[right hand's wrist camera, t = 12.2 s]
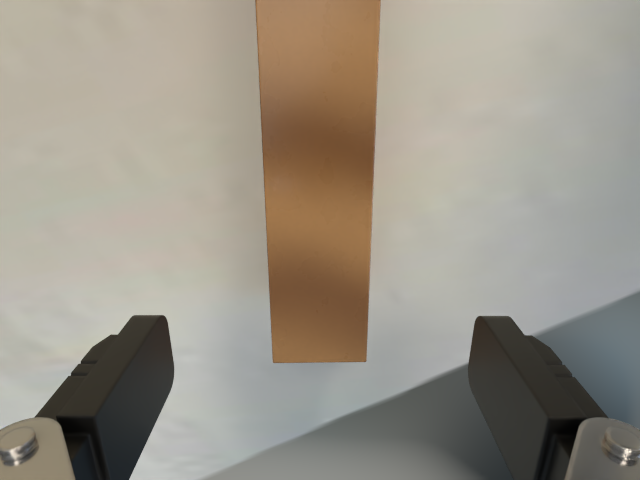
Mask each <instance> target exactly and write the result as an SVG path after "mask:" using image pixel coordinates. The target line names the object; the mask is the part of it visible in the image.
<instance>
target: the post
mask: <svg viewBox="0 0 640 480" xmlns="http://www.w3.org/2000/svg"><path fill="white" fill-rule="evenodd" d="M255 1H256V22H257V42H258V63H259V84H260V105H261V126H262V146H263V167H264V188H265V209H266V230H267V251H268V271H269V292H270V313H271V334H272V355H273V363H307V362H366V357H367V331H368V306H369V281H370V255H371V230H372V205H373V179H374V154H375V128H376V103H377V78H378V52H379V27H380V1H381V0H255Z"/></svg>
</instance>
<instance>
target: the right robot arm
mask: <svg viewBox="0 0 640 480" xmlns="http://www.w3.org/2000/svg"><path fill="white" fill-rule="evenodd" d="M468 378H469V384H470V388H471V391H472V393H473V395H474V397H475V399H476V402H477V404H478V406H479V408H480V410H481V412H482V414H483V416H484V418H485V421H486V423H487V425H488V427H489V429H490V431H491V433H492V435H493V437H494V440H495V442H496V444H497V446H498V448H499V450H500V452H501V454H502V456H503V458H504V461H505V463H506V465H507V467H508V469H509V471H510V473H511V475H512V478H513V480H640V430H639V429H637V428H636V427H634V426H632V425H629V424H627V423H624V422H621V421H618V420H614V419H610V418H608V417H607V416H606V414H605V413H604V412H603V411H602V410H601V408H600V407H599V406H598V405H597V404H596V402H595V401H594V400H593V399H592V398H591V396H590V395H589V394H588V393H587V392H586V390H585V389H584V388H583V387H582V386H581V384H580V383H579V382H578V381H577V379H576V378H575V377H572V373H571V372H570V371H569V370H568V369H567V368H566V366H565V365H562V362H561V360H560V359H559V358H558V357H557V355H556V354H555V353H554V352H553V351H552V349H551V348H550V347H548V346H547V345H545V344H544V343H542V342H541V341H539V340H538V339H536V338H535V337H533V336H525V335H524V334H523V333H522V331H521V330H520V329H519V327H518V326H517V325H516V324H515V322H514V321H513V320H512V319H511V317H509V316H478V317H477V319H476V321H475V325H474V331H473V338H472V345H471V351H470V358H469V365H468ZM173 379H174V362H173V356H172V349H171V342H170V335H169V328H168V322H167V319H166V317H165V316H163V315H134V316H132V317H131V318H130V320H129V321H128V322H127V324H126V325H125V326H124V328H123V329H122V330H121V331H120V333H119V334H118V335H110V336H108V337H107V338H105V339H104V340H102V341H101V342H99V343H98V344H96V345H95V346H93V347H92V348H91V350H90V351H89V352H88V353H87V354H86V356H85V357H84V358H83V359H82V360H81V364H78V365H77V367H76V368H75V369H74V370H73V371H72V373H71V376H68V377H67V379H66V380H65V381H64V382H63V383H62V385H61V386H60V387H59V388H58V390H57V391H56V392H55V393H54V394H53V396H52V397H51V398H50V399H49V400H48V402H47V403H46V404H45V405H44V407H43V408H42V409H41V410H40V411H39V413H38V414H37V415H36V416H35V417H34V418H29V419H25V420H22V421H19V422H16V423H13V424H11V425H8V426H6V427H4V428H3V429H1V430H0V480H129V478H130V476H131V474H132V472H133V470H134V468H135V465H136V463H137V461H138V459H139V457H140V455H141V453H142V450H143V448H144V446H145V444H146V442H147V440H148V438H149V436H150V433H151V431H152V429H153V427H154V425H155V423H156V421H157V418H158V416H159V414H160V412H161V410H162V408H163V406H164V403H165V401H166V399H167V397H168V395H169V393H170V391H171V388H172V384H173Z"/></svg>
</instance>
